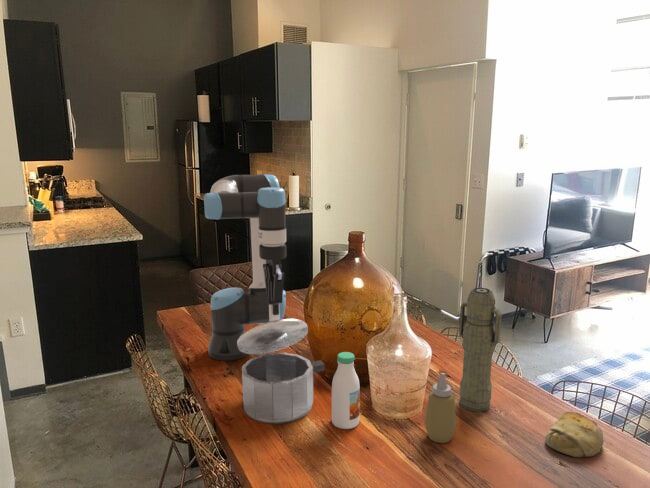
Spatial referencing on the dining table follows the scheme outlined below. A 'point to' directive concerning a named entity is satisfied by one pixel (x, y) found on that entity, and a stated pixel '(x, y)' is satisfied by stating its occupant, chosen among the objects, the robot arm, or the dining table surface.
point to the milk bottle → (345, 393)
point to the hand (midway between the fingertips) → (274, 324)
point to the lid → (272, 336)
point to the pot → (278, 387)
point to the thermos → (478, 348)
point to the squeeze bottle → (441, 412)
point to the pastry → (575, 436)
